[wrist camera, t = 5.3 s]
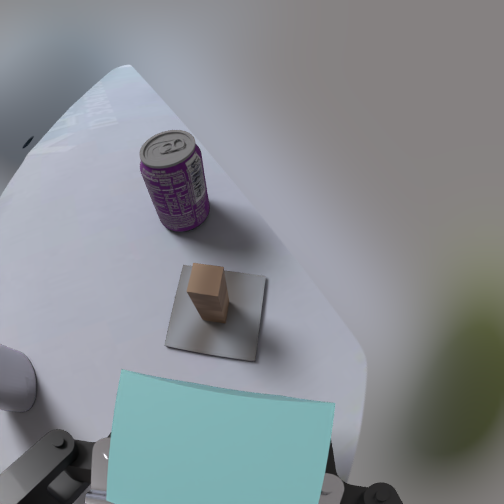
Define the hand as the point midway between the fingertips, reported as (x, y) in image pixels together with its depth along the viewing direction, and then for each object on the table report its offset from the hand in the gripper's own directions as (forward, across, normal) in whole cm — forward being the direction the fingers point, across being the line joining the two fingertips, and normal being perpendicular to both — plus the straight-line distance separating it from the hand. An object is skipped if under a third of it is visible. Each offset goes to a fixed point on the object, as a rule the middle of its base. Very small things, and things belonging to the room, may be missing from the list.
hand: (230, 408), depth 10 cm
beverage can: (+29, +11, -3) cm, 31 cm away
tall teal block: (+2, 0, +5) cm, 5 cm away
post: (+19, +4, +6) cm, 20 cm away
